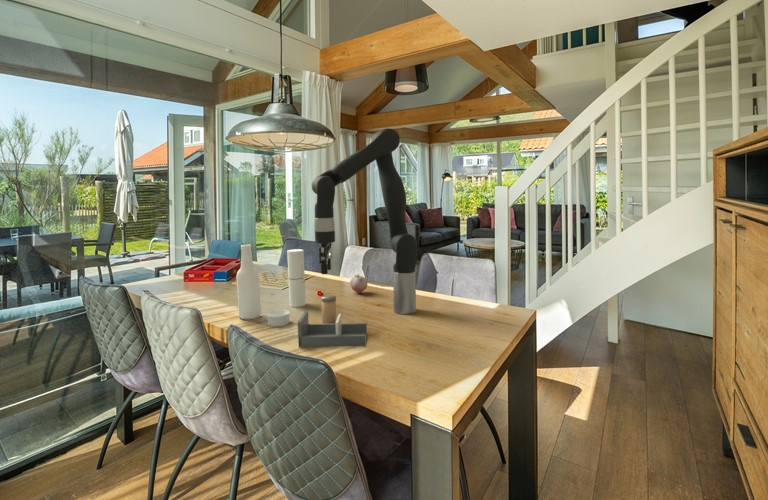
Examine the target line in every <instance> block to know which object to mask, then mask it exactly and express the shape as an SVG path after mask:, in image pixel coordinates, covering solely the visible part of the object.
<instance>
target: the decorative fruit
mask: <svg viewBox="0 0 768 500" xmlns="http://www.w3.org/2000/svg"><path fill="white" fill-rule="evenodd" d="M349 284H350V287H351V289H352V290H353V291H354V292H355V293H357V294H361V293H363V292H364V291H365V290H366V289H367V288H368V284H369V283H368V279H367V278H366V277H365V276H362V275H360V274H356V275H354V276H353V277H352V278H351V279H350V281H349Z"/></svg>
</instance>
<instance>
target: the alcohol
mask: <svg viewBox="0 0 768 500" xmlns="http://www.w3.org/2000/svg"><path fill="white" fill-rule="evenodd" d="M240 257H241V258H240V268H239V269H238V270H237V272H236V291H237V304H238V305H237V306H238V316H239V318H240V319H241V320H244V319H245V321H246V320H247V321H249V320H250V319H251V320H255V318H256V319H258V318H260V317H261V316H262V301H261V299H262V297H261V285H260V273H259V270H258V269H257V268H256V267H255V266H254V261H253V253H252V245H251V244H249V243H247V244H241V245H240Z"/></svg>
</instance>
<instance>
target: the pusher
mask: <svg viewBox="0 0 768 500" xmlns="http://www.w3.org/2000/svg"><path fill="white" fill-rule="evenodd" d="M341 323H342V313H338V314H337V316H336V323H335V324H336V335H341V333H342V328H341Z"/></svg>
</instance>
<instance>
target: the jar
mask: <svg viewBox="0 0 768 500" xmlns="http://www.w3.org/2000/svg"><path fill="white" fill-rule="evenodd" d="M320 301H321V320H322V321H321V322H322V323H321V324H335V323H336V320H337V303H336V302H337V297H336V295H331V294H330V295H329V294H328V295H323V296H321V297H320Z"/></svg>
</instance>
